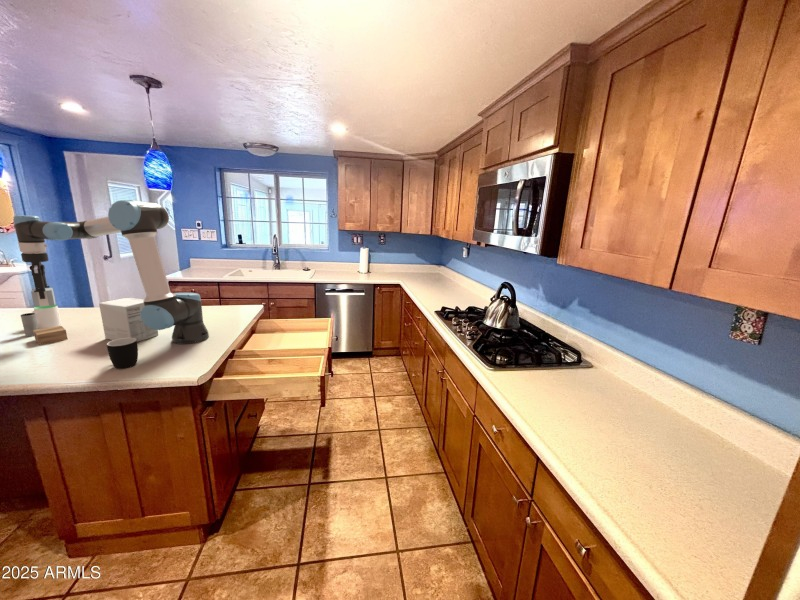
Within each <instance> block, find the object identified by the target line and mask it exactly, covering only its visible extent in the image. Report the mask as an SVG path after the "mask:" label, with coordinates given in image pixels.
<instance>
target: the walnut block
mask: <svg viewBox="0 0 800 600" xmlns="http://www.w3.org/2000/svg"><path fill="white" fill-rule="evenodd" d="M33 332H34V336H33V337H34V339H35V341H36V343H37V344H38V345H41V346H42V345H44V344H46V345H47V344H50V343H52V344H53V343H57V342H62V341H66V340H68V335H67V333H68V332H67V330H66V329H65V328H64V327H63V326H62V325H60V326H56V327H50V328H44V329H41V328H39V329H38V330H33Z"/></svg>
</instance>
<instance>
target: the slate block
mask: <svg viewBox="0 0 800 600" xmlns="http://www.w3.org/2000/svg"><path fill="white" fill-rule="evenodd" d="M45 290H46V293H47V298H48V302H49V306H55V305H56V302H57V301H56V297H55V292H54V289H53V287H50V288H45ZM34 291H35V288H33V289H32V290H30V293H31V298H32V299H31V300H32V303H33V308H34V307H44V306H40V305H39V300H38V296H37V292H34Z"/></svg>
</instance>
